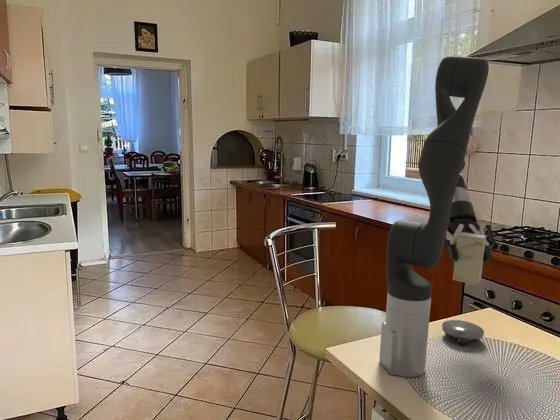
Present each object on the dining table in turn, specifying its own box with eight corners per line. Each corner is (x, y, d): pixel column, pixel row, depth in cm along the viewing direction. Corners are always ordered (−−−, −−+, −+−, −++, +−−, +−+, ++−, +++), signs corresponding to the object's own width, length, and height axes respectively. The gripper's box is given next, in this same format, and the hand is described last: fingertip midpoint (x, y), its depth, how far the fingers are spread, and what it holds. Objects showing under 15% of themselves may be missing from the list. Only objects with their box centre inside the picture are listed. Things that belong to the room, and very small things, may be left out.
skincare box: (452, 280, 111) (456, 234, 109) (456, 276, 115) (460, 231, 113) (478, 285, 108) (483, 237, 106) (482, 281, 111) (486, 234, 109)
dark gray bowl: (455, 348, 108) (456, 337, 107) (434, 331, 117) (435, 320, 117) (491, 346, 109) (492, 335, 109) (467, 329, 119) (468, 319, 119)
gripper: (435, 198, 115) (448, 252, 106) (489, 200, 115) (507, 254, 106) (427, 215, 121) (438, 267, 112) (478, 216, 121) (494, 268, 112)
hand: (471, 260), depth 109 cm, fingers closed on skincare box, 7 cm apart
